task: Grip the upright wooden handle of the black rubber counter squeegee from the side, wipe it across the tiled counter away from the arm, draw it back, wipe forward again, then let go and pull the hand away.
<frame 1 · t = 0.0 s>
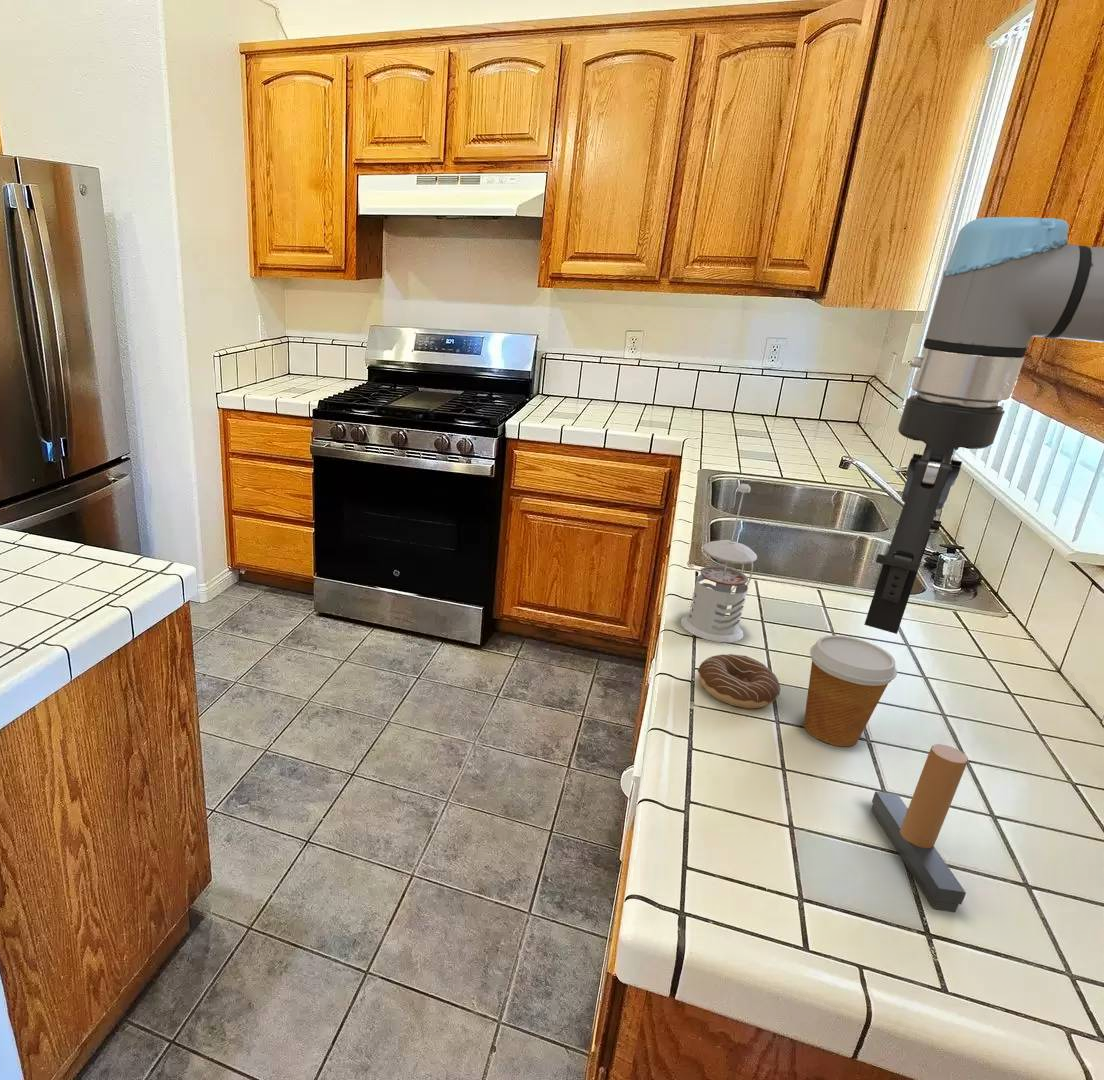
hand: (889, 605, 77), 25 cm above the countertop, tool pointing down, fingers open, 13 cm apart
squeegee: (909, 856, 78), on the countertop
disposable coffee cup: (829, 733, 99), on the countertop
french press: (714, 627, 125), on the countertop
donut: (734, 693, 107), on the countertop
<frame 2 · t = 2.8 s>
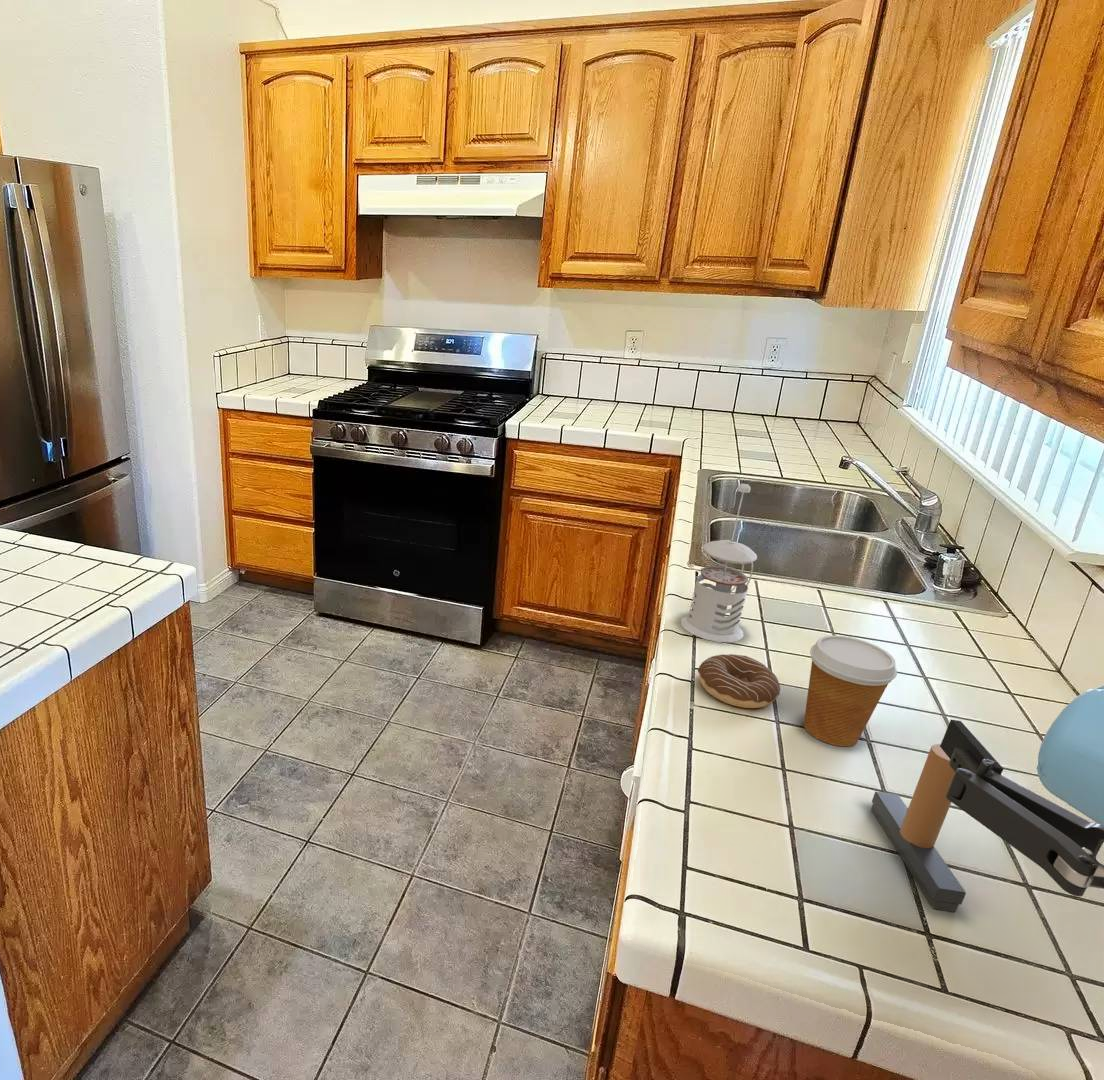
hand: (1040, 749, 62), 20 cm above the countertop, tool horizontal, fingers open, 13 cm apart
nothing on the countertop moved.
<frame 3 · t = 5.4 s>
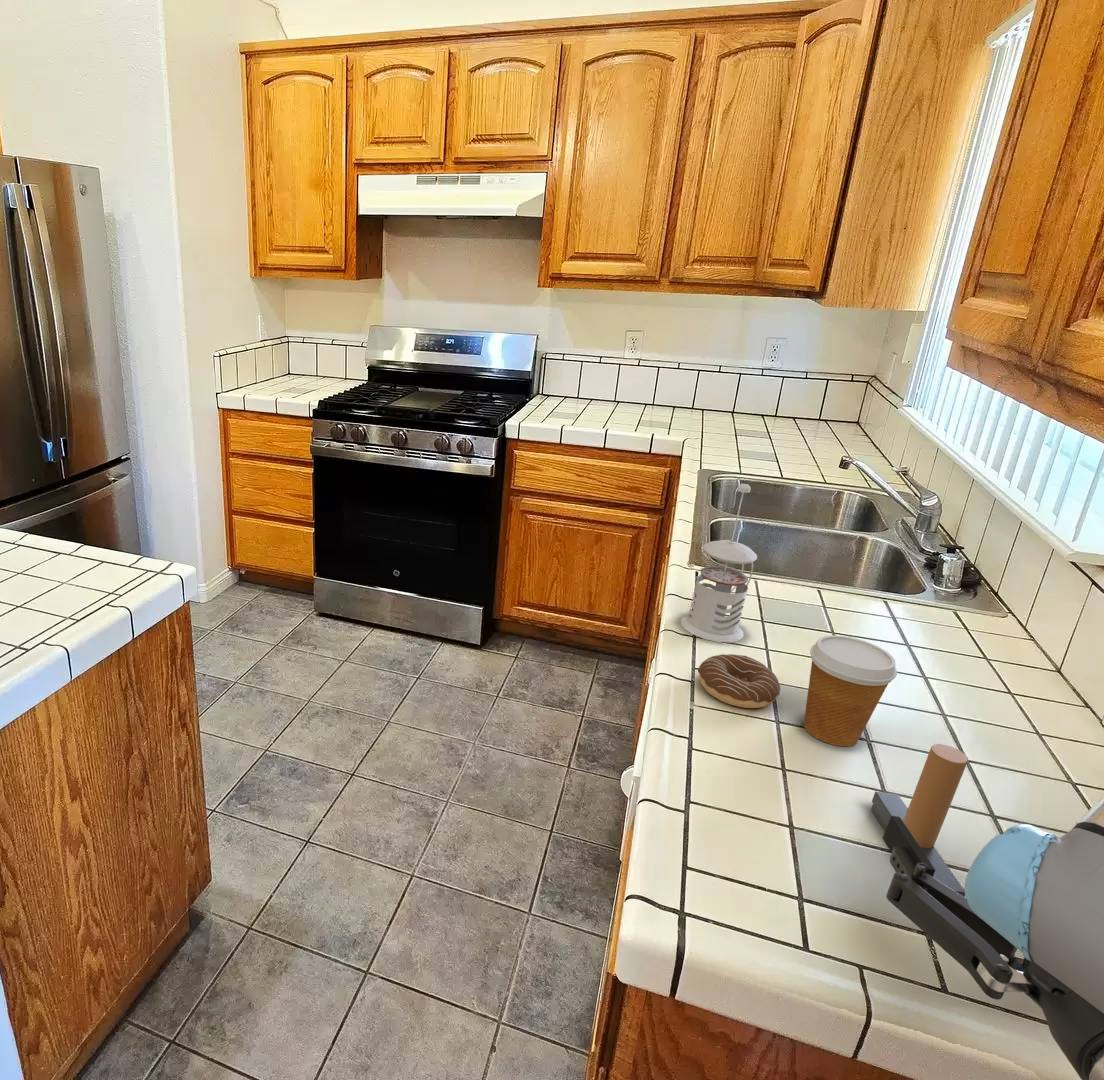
hand: (970, 838, 69), 8 cm above the countertop, tool horizontal, fingers open, 13 cm apart
nothing on the countertop moved.
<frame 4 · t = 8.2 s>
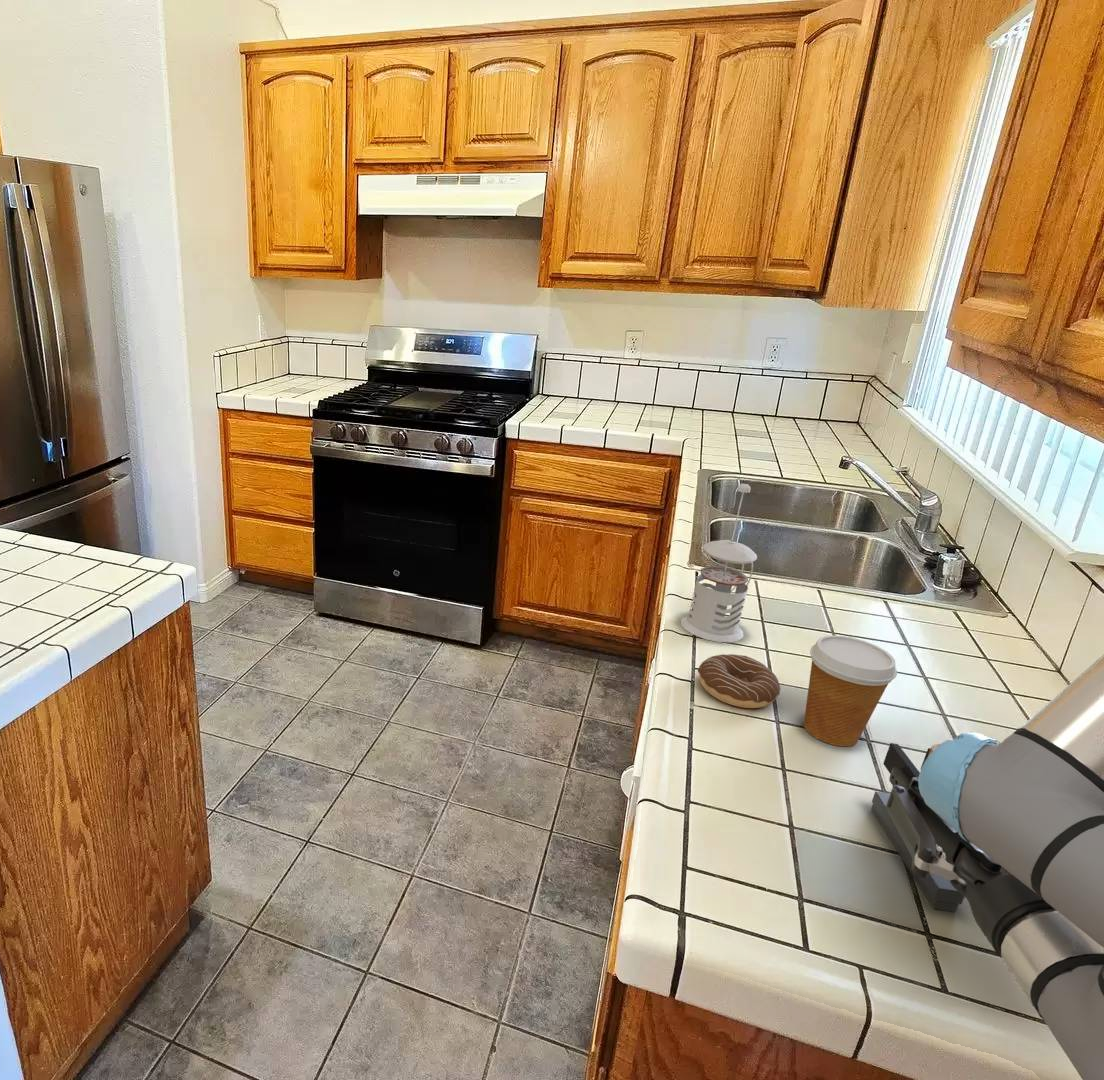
hand: (909, 756, 80), 8 cm above the countertop, tool horizontal, fingers closed on squeegee, 3 cm apart
squeegee: (909, 856, 78), on the countertop, touching gripper
everything else where it was.
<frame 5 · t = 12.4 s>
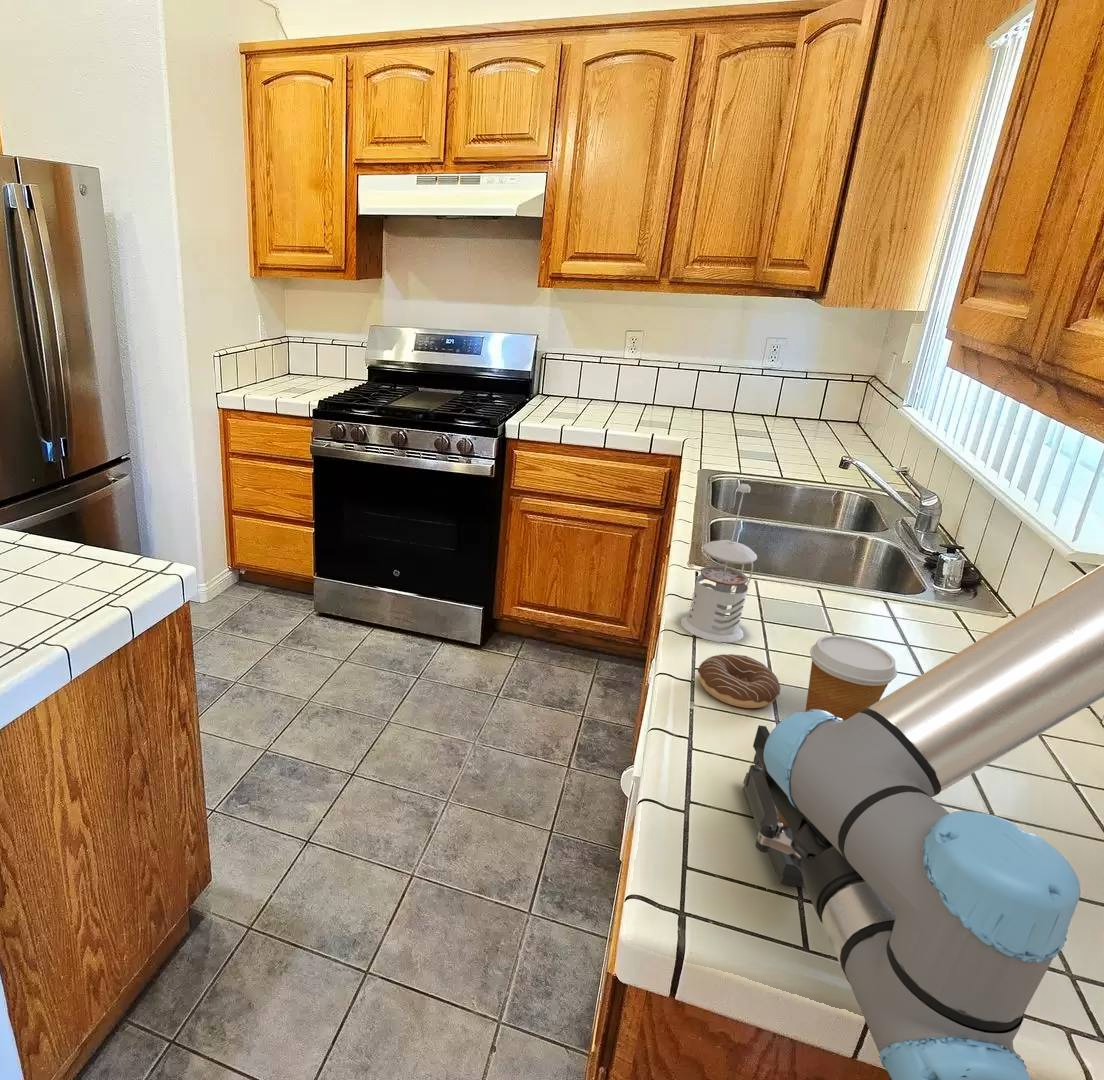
hand: (777, 738, 82), 9 cm above the countertop, tool horizontal, fingers closed on squeegee, 3 cm apart
squeegee: (769, 834, 80), on the countertop, touching gripper
everything else where it was.
when the fingers open (9 cm above the countertop, at t = 16.4 s): squeegee stays where it is, on the countertop.
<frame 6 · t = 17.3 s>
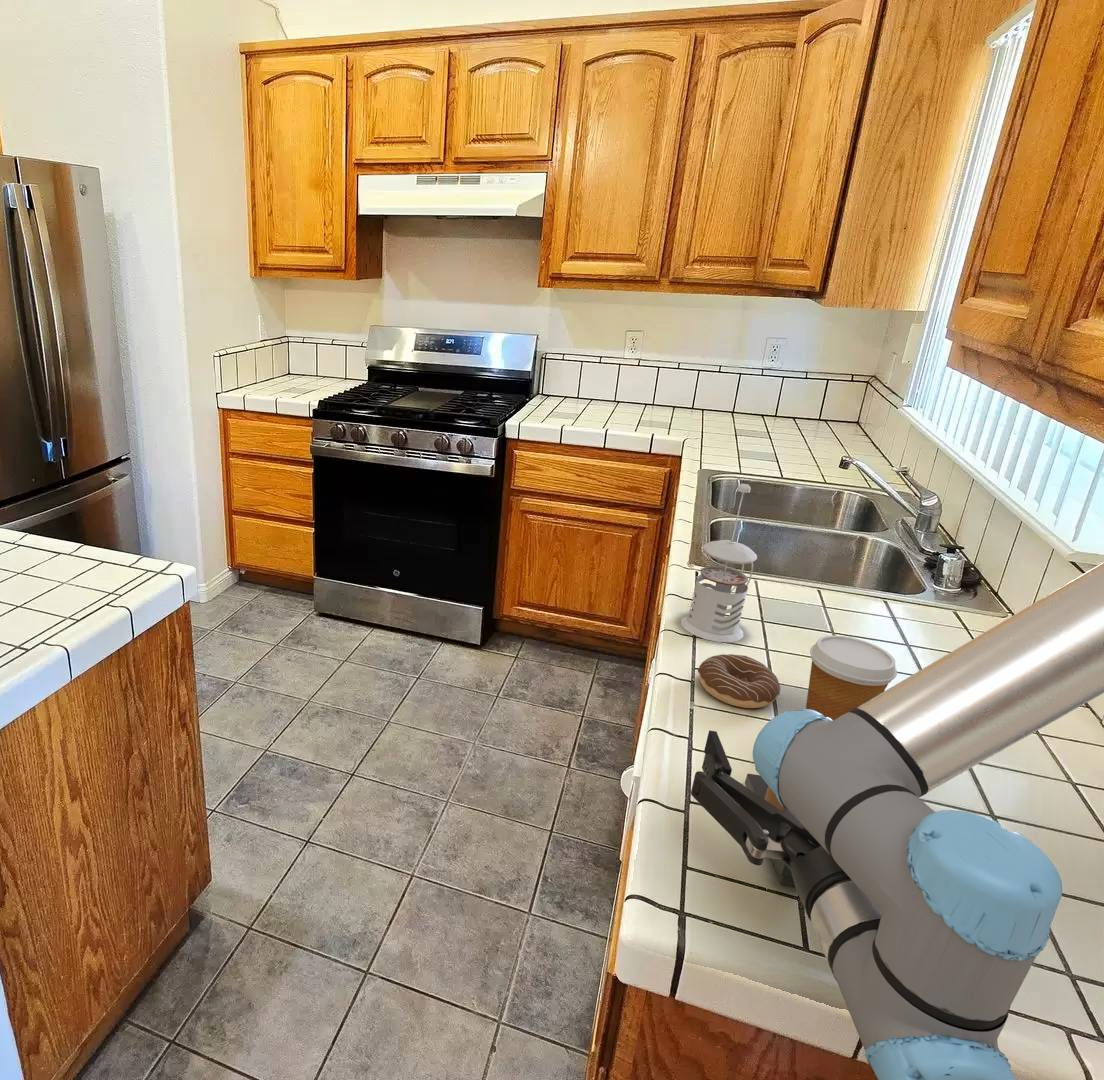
hand: (776, 750, 80), 8 cm above the countertop, tool horizontal, fingers open, 13 cm apart
squeegee: (770, 835, 80), on the countertop
everything else where it was.
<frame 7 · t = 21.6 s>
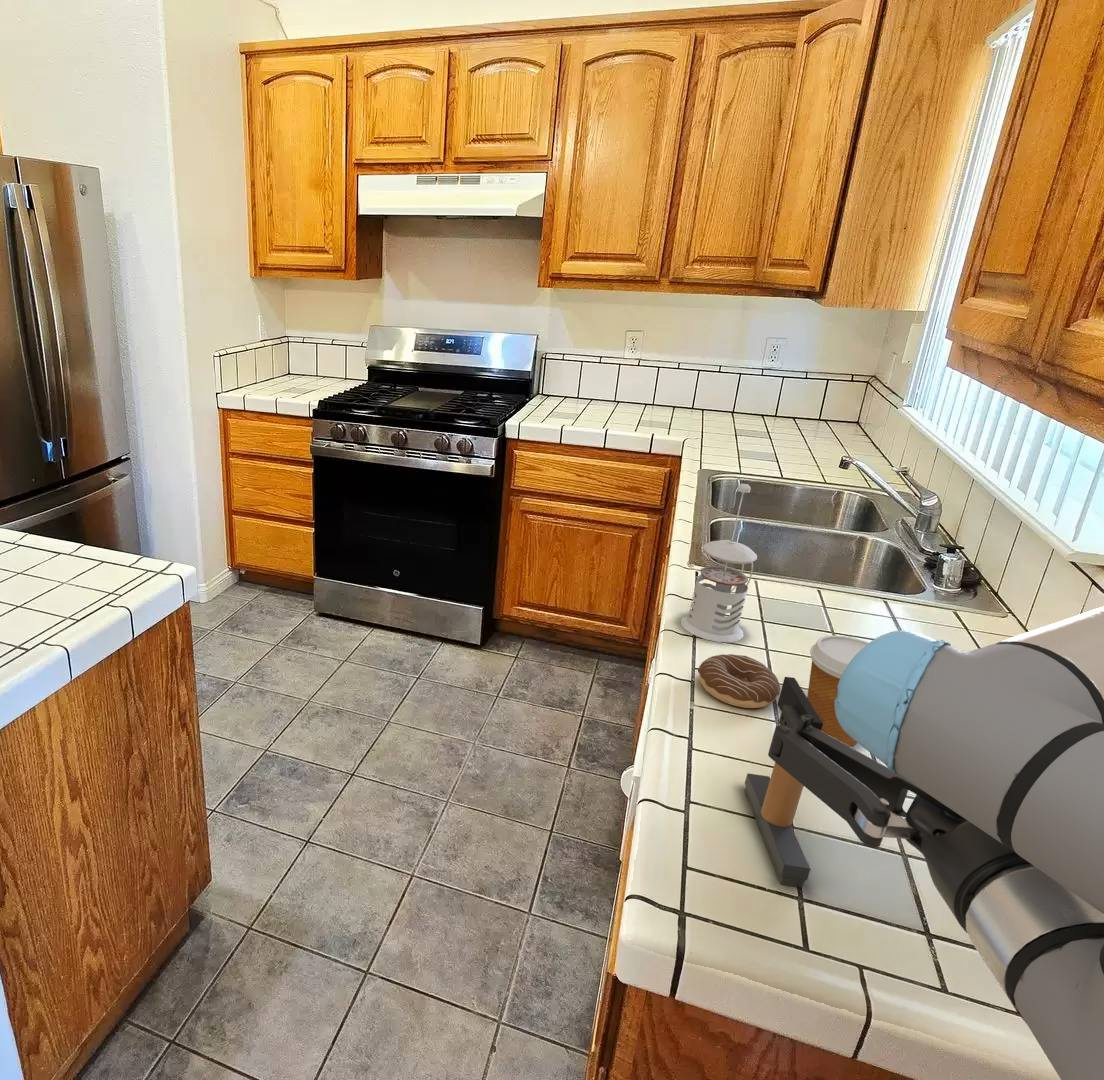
hand: (873, 701, 62), 24 cm above the countertop, tool horizontal, fingers open, 13 cm apart
nothing on the countertop moved.
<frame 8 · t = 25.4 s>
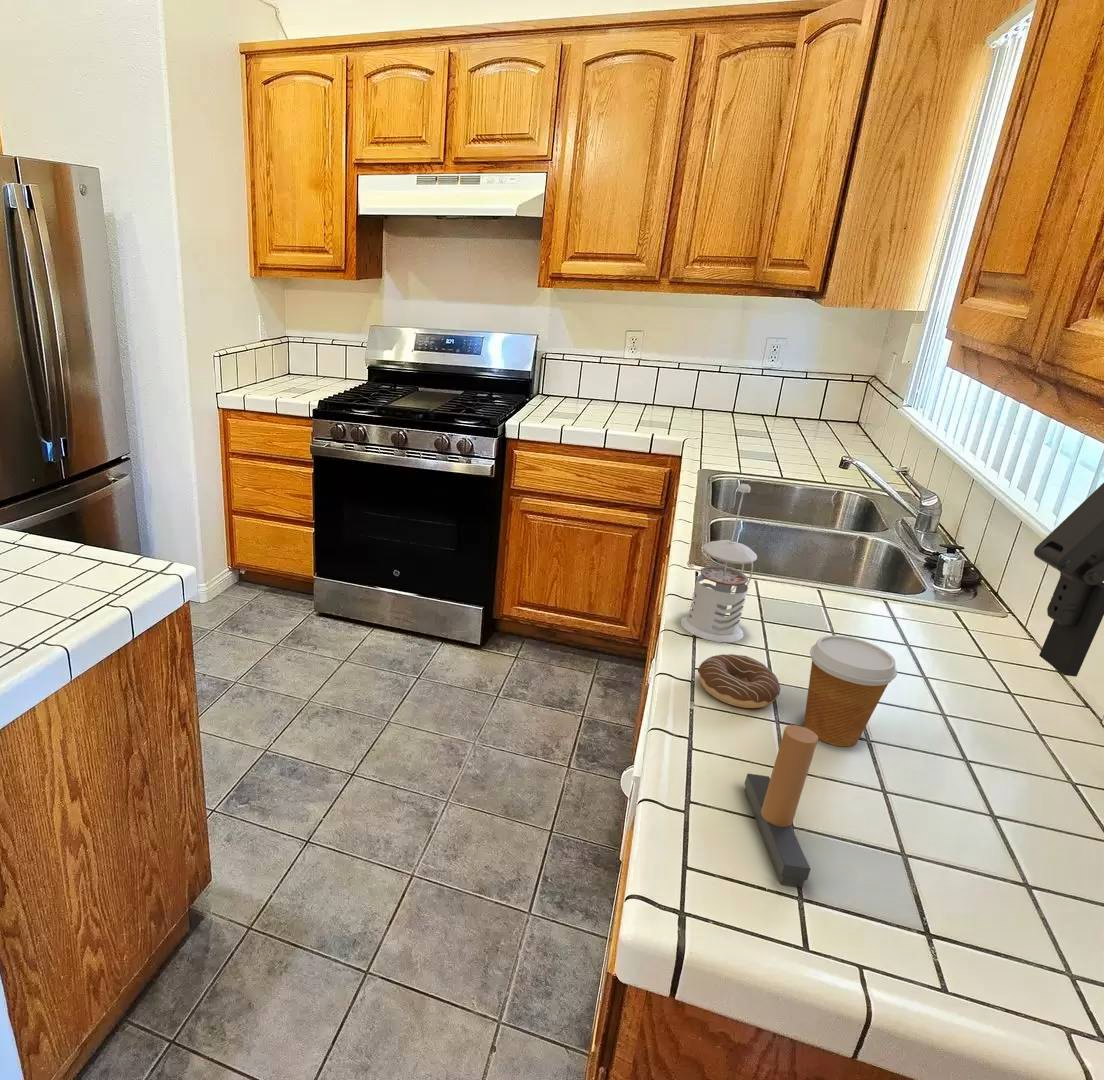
nothing on the countertop moved.
at the end: squeegee inside the target area (0.3 cm from its centre), on the countertop; squeegee tilted 0°; the gripper is holding nothing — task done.
